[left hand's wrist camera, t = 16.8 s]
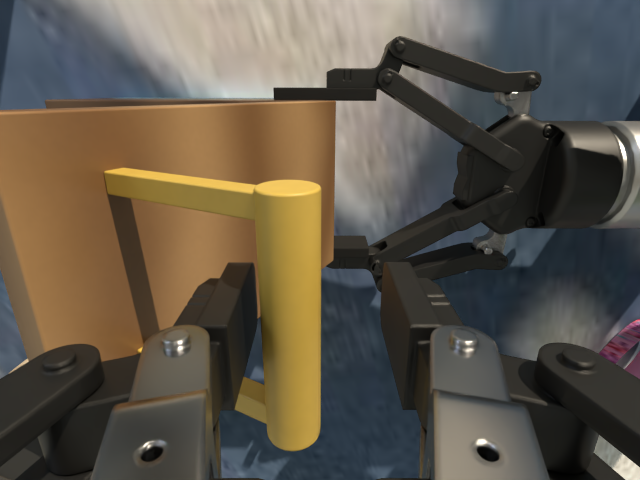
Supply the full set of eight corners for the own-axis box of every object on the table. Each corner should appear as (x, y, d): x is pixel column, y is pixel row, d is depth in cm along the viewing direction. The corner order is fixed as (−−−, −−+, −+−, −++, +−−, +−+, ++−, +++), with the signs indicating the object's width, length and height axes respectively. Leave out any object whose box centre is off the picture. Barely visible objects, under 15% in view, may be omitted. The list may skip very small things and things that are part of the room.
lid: (52, 444, 13) (255, 583, 9) (-49, 111, 9) (215, 124, 6) (317, 257, 27) (436, 282, 24) (317, 100, 24) (456, 102, 20)
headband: (592, 404, 44) (605, 419, 42) (563, 390, 43) (575, 405, 41) (664, 329, 40) (682, 342, 38) (634, 313, 40) (650, 325, 38)
